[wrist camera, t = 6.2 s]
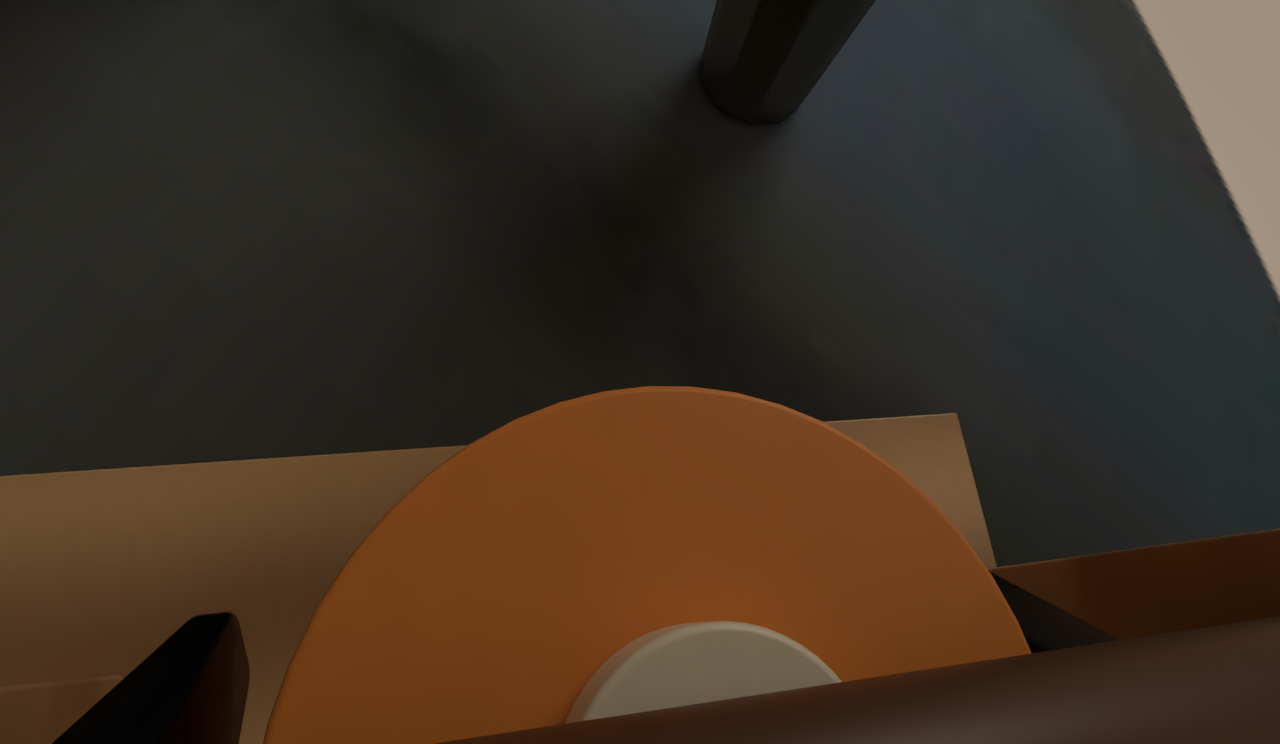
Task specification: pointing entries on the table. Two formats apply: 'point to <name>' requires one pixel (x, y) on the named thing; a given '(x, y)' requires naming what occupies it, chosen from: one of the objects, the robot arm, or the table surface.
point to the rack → (354, 504)
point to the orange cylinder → (718, 605)
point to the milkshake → (773, 52)
